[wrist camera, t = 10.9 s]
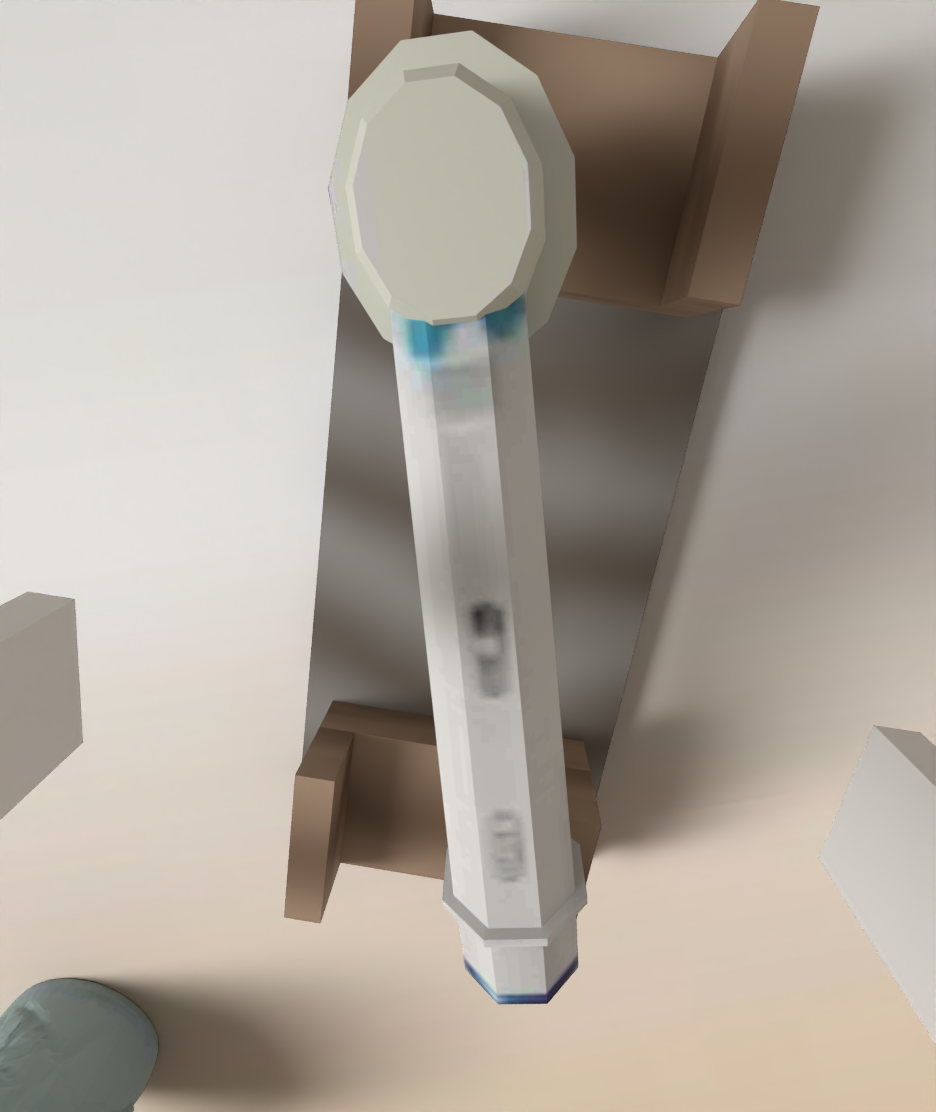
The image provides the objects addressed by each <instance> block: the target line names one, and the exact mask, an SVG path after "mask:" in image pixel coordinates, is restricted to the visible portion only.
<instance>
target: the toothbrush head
mask: <svg viewBox="0 0 936 1112" xmlns="http://www.w3.org/2000/svg"><path fill="white" fill-rule="evenodd" d="M328 191H329V197H330V203H331V209H332V214H333V220H334V226H335V232H336V238H337V244H338V250H339V256H340V262H341V268H342V274H343V275H344V277H345V278H346V280H347V282H348V283H349V285H350V286H351V288H352V290H353V291H354V293H355V294H356V296H357V297H358V299H359V301H360V302H361V304H362V305H363V307H364V309H365V310H366V312H367V313H368V315H369V317H370V318H371V320H372V321H373V323H374V325H375V326H376V328H377V329H378V331H379V332H380V334H381V336H382V337H383V339H385V340H387V341H389V342H390V343H392V344H393V350H394V359H395V368H396V377H397V386H398V395H399V404H400V413H401V422H402V431H403V441H404V450H405V459H406V468H407V477H408V486H409V495H410V504H411V513H412V522H413V532H414V541H415V550H416V559H417V568H418V577H419V586H420V595H421V604H422V613H423V623H424V632H425V641H426V650H427V659H428V668H429V677H430V686H431V695H432V704H433V713H434V723H435V732H436V741H437V750H438V759H439V768H440V777H441V786H442V795H443V804H444V814H445V823H446V832H447V841H448V848H447V850H446V862H445V874H444V885H443V897H442V901H443V906H444V908H445V909H446V910H447V911H448V912H449V913H450V914H451V915H452V916H453V917H454V918H455V919H456V920H457V921H458V926H459V932H460V938H461V944H462V951H463V957H464V963H465V969H466V970H467V971H468V972H469V974H470V975H471V976H472V977H473V978H474V979H475V980H476V981H477V982H478V983H479V984H480V985H481V986H482V987H483V988H484V990H485V991H486V992H487V993H488V994H489V995H490V996H491V997H492V998H493V999H494V1000H495V1001H496V1002H497V1003H498V1004H547V1003H548V1002H549V1001H550V1000H551V999H552V998H553V996H554V995H555V994H556V993H557V992H558V990H559V989H560V988H561V987H562V986H563V985H564V983H565V982H566V981H567V980H568V979H569V978H570V976H571V975H572V974H573V973H574V972H575V970H576V969H577V968H578V948H577V923H576V915H577V914H578V913H579V911H580V910H581V909H582V908H583V907H584V906H585V905H586V904H587V891H586V884H585V877H584V870H583V863H582V856H581V849H580V844H579V843H577V842H576V841H575V840H573V839H572V838H571V835H570V823H569V811H568V799H567V787H566V776H565V764H564V752H563V740H562V728H561V716H560V705H559V693H558V681H557V669H556V657H555V645H554V634H553V622H552V610H551V598H550V586H549V574H548V562H547V551H546V539H545V527H544V515H543V503H542V491H541V480H540V468H539V456H538V444H537V432H536V420H535V409H534V397H533V385H532V373H531V361H530V349H529V337H530V336H532V335H533V334H534V333H535V332H536V331H537V330H539V329H540V328H541V327H542V326H543V325H544V324H546V323H547V322H548V319H549V317H550V314H551V312H552V309H553V307H554V304H555V302H556V299H557V297H558V294H559V292H560V289H561V287H562V284H563V281H564V279H565V276H566V274H567V271H568V269H569V266H570V264H571V261H572V259H573V256H574V254H575V251H576V249H577V232H576V188H575V157H574V154H573V152H572V150H571V148H570V146H569V144H568V141H567V139H566V137H565V135H564V133H563V130H562V128H561V126H560V124H559V122H558V120H557V117H556V115H555V113H554V111H553V109H552V107H551V104H550V102H549V100H548V98H547V96H546V93H545V91H544V89H543V87H542V85H541V83H540V80H539V78H538V76H537V75H536V74H535V73H533V72H532V71H530V70H529V69H527V68H526V67H524V66H523V65H522V64H520V63H519V62H517V61H516V60H514V59H513V58H511V57H510V56H508V55H507V54H506V53H504V52H503V51H501V50H500V49H498V48H497V47H495V46H494V45H493V44H491V43H490V42H488V41H487V40H485V39H484V38H482V37H481V36H480V35H478V34H477V33H475V32H474V31H472V30H471V31H464V32H457V33H449V34H442V35H435V36H428V37H421V38H414V39H407V40H401V41H400V42H399V43H398V44H397V45H396V46H395V47H394V49H393V50H392V51H391V52H390V53H389V54H388V55H387V56H386V58H385V59H384V60H383V61H382V62H381V63H380V64H379V66H378V67H377V68H376V69H375V70H374V71H373V72H372V74H371V75H370V76H369V77H368V78H367V79H366V80H365V82H364V83H363V84H362V85H361V86H360V87H359V88H358V89H357V91H356V92H355V93H354V94H353V95H352V96H351V97H350V99H349V100H348V101H347V106H346V110H345V115H344V119H343V123H342V128H341V132H340V137H339V141H338V145H337V150H336V154H335V159H334V163H333V167H332V172H331V176H330V181H329V185H328Z"/></svg>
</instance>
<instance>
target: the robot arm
mask: <svg viewBox="0 0 936 1112" xmlns="http://www.w3.org/2000/svg"><path fill="white" fill-rule="evenodd" d="M82 743H83V736H82V719H81V701H80V683H79V666H78V648H77V631H76V613H75V599H71V598H65V597H58V596H52V595H46V594H39V593H33V592H26V593H24V594H22V595H20V596H18V597H17V598H15V599H13V600H11V601H9V602H7V603H5V604H3V605H1V606H0V820H1V819H2V818H3V817H4V816H5V815H6V814H7V813H8V812H9V811H10V810H11V809H12V808H14V807H15V806H16V805H17V804H18V803H19V802H20V801H21V800H22V799H23V798H24V797H25V796H26V795H27V794H28V793H29V792H31V791H32V790H33V789H34V788H35V787H36V786H37V785H38V784H39V783H40V782H41V781H42V780H43V779H44V778H45V777H47V776H48V775H49V774H50V773H51V772H52V771H53V770H54V769H55V768H56V767H57V766H58V765H59V764H60V763H61V762H62V761H64V760H65V759H66V758H67V757H68V756H69V755H70V754H71V753H72V752H73V751H74V750H75V749H76V748H77V747H78V746H79V745H81V744H82ZM818 858H819V860H820V862H821V863H822V865H823V866H824V868H825V870H826V871H827V873H828V874H829V876H830V877H831V879H832V881H833V882H834V884H835V885H836V887H837V889H838V890H839V892H840V893H841V895H842V897H843V898H844V900H845V901H846V903H847V904H848V906H849V908H850V909H851V911H852V912H853V914H854V916H855V917H856V919H857V920H858V922H859V923H860V925H861V927H862V928H863V930H864V931H865V933H866V935H867V936H868V938H869V939H870V941H871V942H872V944H873V946H874V947H875V949H876V950H877V952H878V954H879V955H880V957H881V958H882V960H883V962H884V963H885V965H886V966H887V968H888V969H889V971H890V973H891V974H892V976H893V977H894V979H895V981H896V982H897V984H898V985H899V987H900V988H901V990H902V992H903V993H904V995H905V996H906V998H907V1000H908V1001H909V1003H910V1004H911V1006H912V1007H913V1009H914V1011H915V1012H916V1014H917V1015H918V1017H919V1019H920V1020H921V1022H922V1023H923V1025H924V1027H925V1028H926V1030H927V1031H928V1033H929V1034H930V1036H931V1038H932V1039H933V1041H934V1042H935V1044H936V746H935V745H934V744H932V743H931V742H930V741H929V740H928V739H927V738H926V737H925V736H924V735H922V734H921V733H920V732H913V731H907V730H901V729H894V728H888V727H882V726H875V725H874V726H873V729H872V731H871V734H870V736H869V738H868V741H867V743H866V745H865V748H864V750H863V753H862V755H861V757H860V760H859V762H858V764H857V767H856V769H855V772H854V774H853V776H852V779H851V781H850V784H849V786H848V788H847V791H846V793H845V795H844V798H843V800H842V803H841V805H840V807H839V810H838V812H837V815H836V817H835V819H834V822H833V824H832V826H831V829H830V831H829V834H828V836H827V838H826V841H825V843H824V845H823V848H822V850H821V853H820V855H819V857H818Z"/></svg>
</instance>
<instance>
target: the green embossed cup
mask: <svg viewBox="0 0 936 1112" xmlns="http://www.w3.org/2000/svg"><path fill="white" fill-rule="evenodd" d="M157 1055H158V1038H157V1035H156V1032H155V1029H154V1027H153V1025H152V1023H151V1021H150V1020H149V1019H148V1017H147V1016H146V1015H145V1013H144V1012H143V1011H142V1010H141V1009H140V1008H139V1007H138V1006H137V1005H135V1004H134V1003H133V1002H132V1001H131V1000H129V999H128V998H126V997H125V996H124V995H122V994H120V993H118V992H117V991H115V990H113V989H110V988H108V987H106V986H103V985H101V984H98V983H95V982H91V981H86V980H79V979H54V980H48V981H45V982H42V983H39V984H36V985H34V986H32V987H31V988H29V989H28V990H26V991H25V992H24V993H23V994H22V995H20V996H19V997H18V998H17V999H16V1000H15V1001H14V1002H13V1003H12V1005H11V1006H10V1007H9V1008H8V1009H7V1010H6V1011H5V1012H4V1014H3V1015H2V1016H1V1017H0V1112H133V1111H134V1107H133V1105H134V1104H135V1102H136V1101H137V1100H138V1098H139V1097H140V1096H141V1094H142V1092H143V1091H144V1089H145V1086H146V1084H147V1082H148V1080H149V1077H150V1075H151V1073H152V1071H153V1069H154V1066H155V1063H156V1059H157Z"/></svg>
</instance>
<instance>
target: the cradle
mask: <svg viewBox="0 0 936 1112" xmlns="http://www.w3.org/2000/svg"><path fill="white" fill-rule="evenodd" d="M819 8H820V6H813V5H807V4H800V3H794V2H787V1H781V0H758V1H757V2H756V4H755V5H754V7H753V8H752V9H751V11H750V12H749V14H748V15H747V17H746V18H745V19H744V21H743V22H742V24H741V25H740V26H739V28H738V29H737V31H736V32H735V34H734V35H733V36H732V38H731V39H730V41H729V42H728V44H727V45H726V46H725V48H724V49H723V51H722V52H721V54H720V55H719V56H718V58H716V57H710V56H704V55H697V54H691V53H684V52H678V51H671V50H665V49H658V48H652V47H646V46H639V45H633V44H626V43H620V42H613V41H607V40H600V39H594V38H588V37H581V36H575V35H568V34H562V33H555V32H549V31H542V30H536V29H530V28H523V27H517V26H510V25H504V24H497V23H491V22H485V21H478V20H472V19H465V18H459V17H452V16H446V15H439V14H434V12H433V7H432V2H431V0H356V1H355V14H354V27H353V40H352V53H351V65H350V78H349V91H348V100H349V99H350V97H351V96H352V95H353V94H354V93H355V92H356V91H357V89H358V88H359V87H360V86H361V85H362V84H363V83H364V82H365V80H366V79H367V78H368V77H369V76H370V75H371V74H372V72H373V71H374V70H375V69H376V68H377V67H378V66H379V64H380V63H381V62H382V61H383V60H384V59H385V58H386V56H387V55H388V54H389V53H390V52H391V51H392V50H393V49H394V47H395V46H396V45H397V44H398V43H399V42H400V41H401V40H407V39H414V38H421V37H428V36H435V35H442V34H449V33H457V32H464V31H471V30H472V31H474V32H475V33H477V34H478V35H480V36H481V37H482V38H484V39H485V40H487V41H488V42H490V43H491V44H493V45H494V46H495V47H497V48H498V49H500V50H501V51H503V52H504V53H506V54H507V55H508V56H510V57H511V58H513V59H514V60H516V61H517V62H519V63H520V64H522V65H523V66H524V67H526V68H527V69H529V70H530V71H532V72H533V73H535V74H536V75H537V76H538V78H539V80H540V83H541V85H542V87H543V89H544V91H545V93H546V96H547V98H548V100H549V102H550V104H551V107H552V109H553V111H554V113H555V115H556V117H557V120H558V122H559V124H560V126H561V128H562V130H563V133H564V135H565V137H566V139H567V141H568V144H569V146H570V148H571V150H572V152H573V154H574V157H575V188H576V232H577V249H576V251H575V254H574V256H573V259H572V261H571V264H570V266H569V269H568V271H567V274H566V276H565V279H564V281H563V284H562V287H561V289H560V292H559V294H558V297H557V299H556V302H555V304H554V307H553V309H552V312H551V314H550V317H549V319H548V322H547V323H546V324H544V325H543V326H542V327H541V328H540V329H539V330H537V331H536V332H535V333H534V334H533V335H532V336H530V337H529V349H530V361H531V373H532V385H533V397H534V409H535V420H536V432H537V444H538V456H539V468H540V480H541V491H542V503H543V515H544V527H545V539H546V551H547V562H548V574H549V586H550V598H551V610H552V622H553V634H554V645H555V657H556V669H557V681H558V693H559V705H560V716H561V728H562V740H563V752H564V764H565V776H566V787H567V799H568V811H569V823H570V835H571V838H572V839H573V840H575V841H576V842H577V843H579V844H580V849H581V856H582V863H583V870H584V877H585V884H586V882H587V878H588V874H589V870H590V867H591V863H592V859H593V855H594V852H595V848H596V844H597V840H598V837H599V833H600V829H601V821H600V816H599V812H598V807H597V802H596V796H597V792H598V788H599V784H600V780H601V776H602V772H603V769H604V765H605V761H606V757H607V753H608V749H609V745H610V742H611V738H612V734H613V730H614V726H615V722H616V718H617V714H618V711H619V707H620V703H621V699H622V695H623V691H624V687H625V684H626V680H627V676H628V672H629V668H630V664H631V660H632V657H633V653H634V649H635V645H636V641H637V637H638V633H639V630H640V626H641V622H642V618H643V614H644V610H645V606H646V602H647V599H648V595H649V591H650V587H651V583H652V579H653V575H654V572H655V568H656V564H657V560H658V556H659V552H660V548H661V545H662V541H663V537H664V533H665V529H666V525H667V521H668V518H669V514H670V510H671V506H672V502H673V498H674V494H675V490H676V487H677V483H678V479H679V475H680V471H681V467H682V463H683V460H684V456H685V452H686V448H687V444H688V440H689V436H690V433H691V429H692V425H693V421H694V417H695V413H696V409H697V406H698V402H699V398H700V394H701V390H702V386H703V382H704V378H705V375H706V371H707V367H708V363H709V359H710V355H711V351H712V348H713V344H714V340H715V336H716V332H717V328H718V324H719V321H720V317H721V313H722V309H725V308H729V307H733V306H738V305H740V304H741V300H742V297H743V293H744V289H745V285H746V282H747V278H748V274H749V270H750V267H751V263H752V259H753V255H754V252H755V248H756V244H757V240H758V237H759V233H760V229H761V225H762V222H763V218H764V214H765V210H766V207H767V203H768V199H769V195H770V192H771V188H772V184H773V180H774V177H775V173H776V169H777V165H778V162H779V158H780V154H781V150H782V147H783V143H784V139H785V135H786V132H787V128H788V124H789V120H790V117H791V113H792V109H793V105H794V102H795V98H796V94H797V90H798V87H799V83H800V79H801V75H802V72H803V68H804V64H805V60H806V57H807V53H808V49H809V45H810V42H811V38H812V34H813V30H814V27H815V23H816V19H817V15H818V12H819ZM447 848H448V841H447V832H446V823H445V814H444V804H443V795H442V786H441V777H440V768H439V759H438V750H437V741H436V732H435V723H434V713H433V704H432V695H431V686H430V677H429V668H428V659H427V650H426V641H425V632H424V623H423V613H422V604H421V595H420V586H419V577H418V568H417V559H416V550H415V541H414V532H413V522H412V513H411V504H410V495H409V486H408V477H407V468H406V459H405V450H404V441H403V431H402V422H401V413H400V404H399V395H398V386H397V377H396V368H395V359H394V350H393V344H392V343H390V342H389V341H387V340H385V339H383V337H382V336H381V334H380V332H379V331H378V329H377V328H376V326H375V325H374V323H373V321H372V320H371V318H370V317H369V315H368V313H367V312H366V310H365V309H364V307H363V305H362V304H361V302H360V301H359V299H358V297H357V296H356V294H355V293H354V291H353V290H352V288H351V286H350V285H349V283H348V282H347V280H346V278H345V277H344V275H343V274H342V278H341V291H340V303H339V315H338V328H337V340H336V352H335V364H334V377H333V389H332V401H331V413H330V426H329V438H328V450H327V463H326V475H325V487H324V499H323V512H322V524H321V536H320V549H319V561H318V573H317V585H316V598H315V610H314V622H313V635H312V647H311V659H310V671H309V684H308V696H307V708H306V721H305V733H304V745H303V757H302V763H301V765H300V767H299V769H298V771H297V773H296V774H295V784H294V797H293V810H292V822H291V835H290V848H289V861H288V874H287V887H286V899H285V912H284V917H285V918H291V919H297V920H303V921H309V922H315V923H321V920H322V917H323V914H324V911H325V908H326V905H327V901H328V898H329V895H330V892H331V889H332V886H333V883H334V880H335V877H336V874H337V871H338V868H339V865H340V863H346V864H352V865H358V866H364V867H370V868H376V869H382V870H388V871H394V872H400V873H406V874H412V875H418V876H424V877H430V878H436V879H442V880H444V874H445V862H446V850H447ZM577 915H578V914H577ZM577 915H576V919H577Z"/></svg>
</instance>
